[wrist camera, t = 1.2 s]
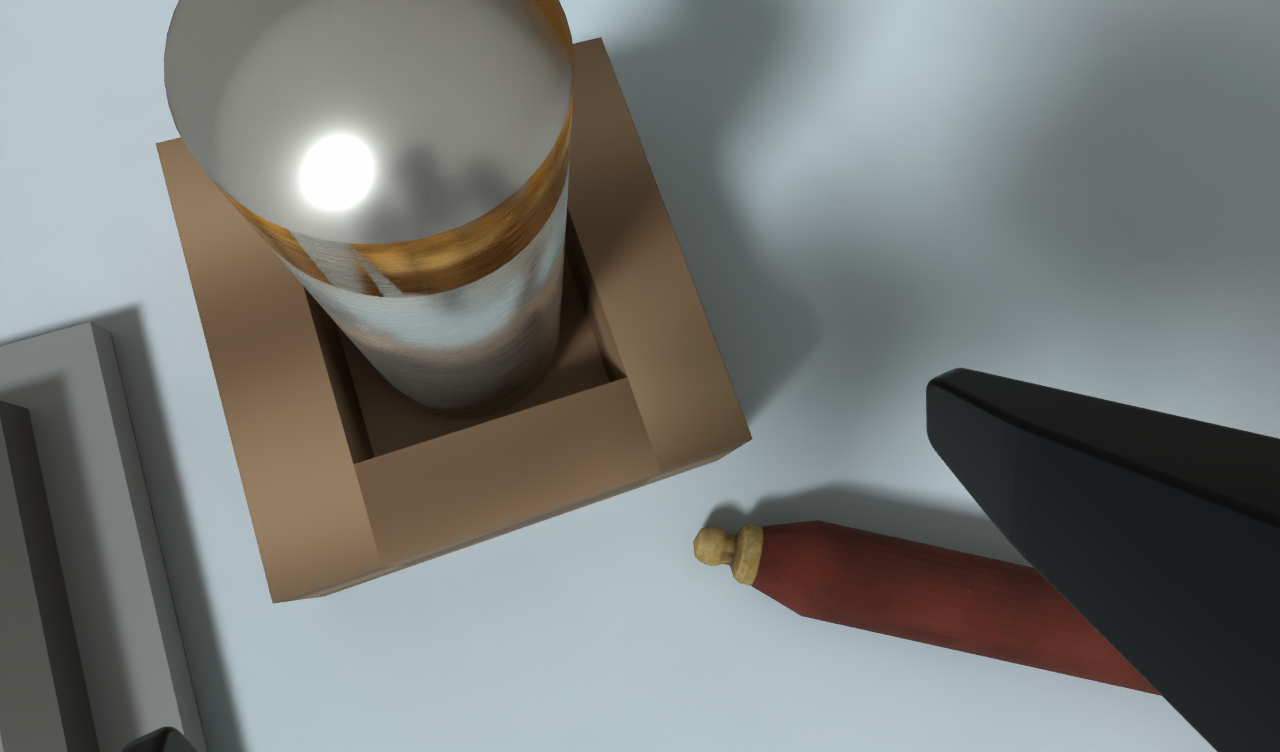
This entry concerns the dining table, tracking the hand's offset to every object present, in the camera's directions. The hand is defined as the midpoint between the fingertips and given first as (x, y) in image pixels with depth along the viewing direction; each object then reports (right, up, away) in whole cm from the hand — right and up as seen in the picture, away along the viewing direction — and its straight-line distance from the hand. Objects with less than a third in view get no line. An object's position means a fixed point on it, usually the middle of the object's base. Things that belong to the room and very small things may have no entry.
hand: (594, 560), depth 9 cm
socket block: (-4, +3, +14) cm, 15 cm away
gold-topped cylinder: (-4, +3, +13) cm, 14 cm away
